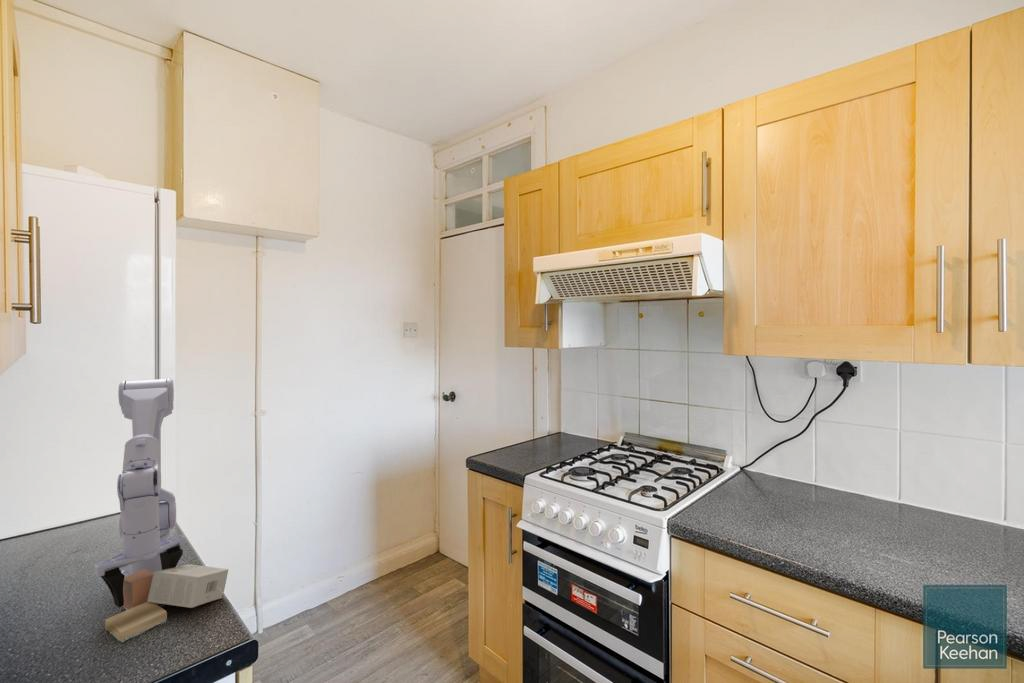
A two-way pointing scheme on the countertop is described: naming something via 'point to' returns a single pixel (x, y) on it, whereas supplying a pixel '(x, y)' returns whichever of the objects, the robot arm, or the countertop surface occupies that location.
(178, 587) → the small box
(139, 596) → the block
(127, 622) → the base slab
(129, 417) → the robot arm
